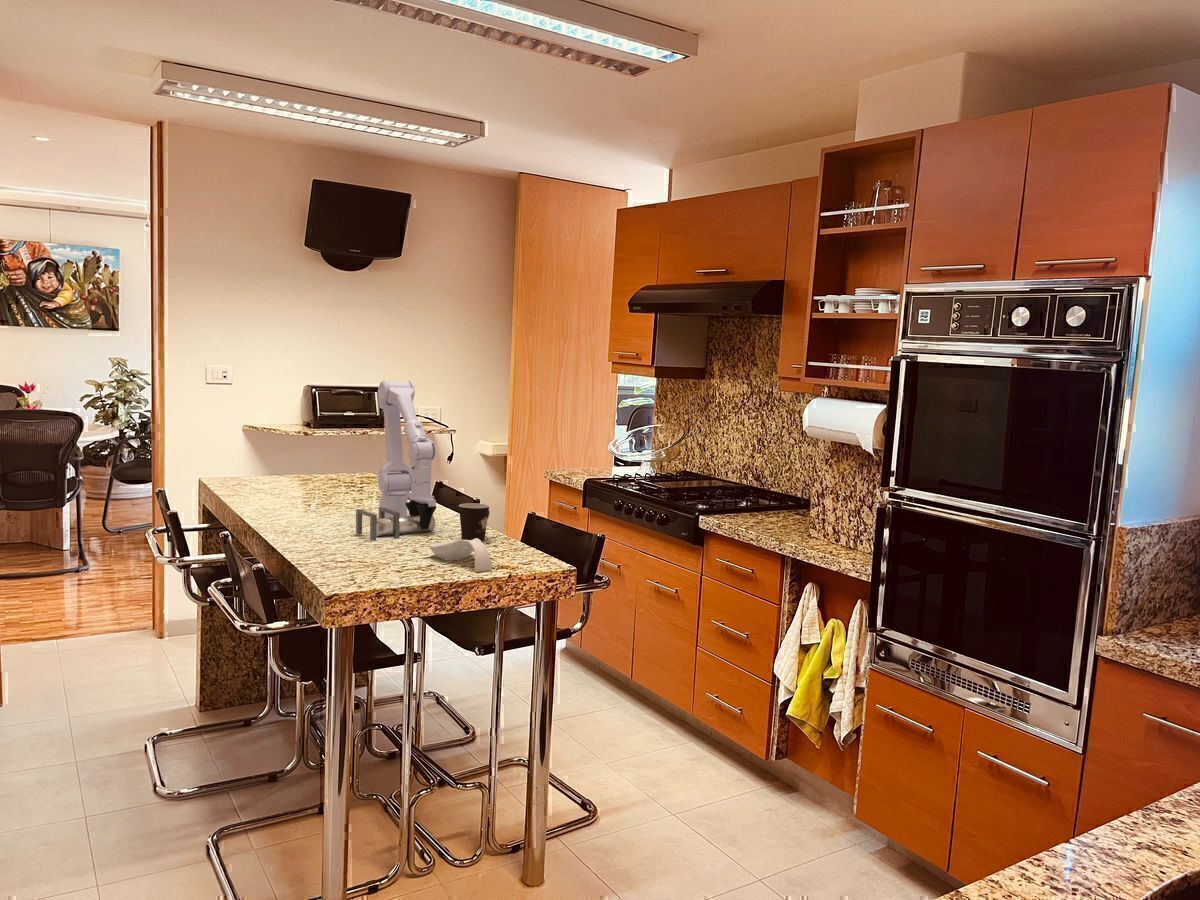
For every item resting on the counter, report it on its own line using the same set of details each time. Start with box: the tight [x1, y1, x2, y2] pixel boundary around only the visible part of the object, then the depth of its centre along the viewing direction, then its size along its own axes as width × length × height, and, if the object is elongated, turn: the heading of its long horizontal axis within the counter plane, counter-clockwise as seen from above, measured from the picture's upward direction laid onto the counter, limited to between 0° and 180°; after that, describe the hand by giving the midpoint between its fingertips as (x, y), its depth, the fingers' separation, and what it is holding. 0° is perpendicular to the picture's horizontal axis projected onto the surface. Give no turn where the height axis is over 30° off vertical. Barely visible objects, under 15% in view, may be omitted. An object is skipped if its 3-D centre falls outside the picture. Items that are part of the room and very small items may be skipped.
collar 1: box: [355, 508, 378, 541], centre depth 255 cm, size 11×1×7 cm, turn 39°
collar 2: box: [378, 506, 400, 539], centre depth 260 cm, size 11×1×7 cm, turn 39°
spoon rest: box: [429, 538, 493, 573], centre depth 229 cm, size 24×12×7 cm, turn 36°
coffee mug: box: [458, 502, 490, 542], centre depth 258 cm, size 12×9×10 cm
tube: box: [376, 514, 436, 537], centre depth 263 cm, size 18×5×5 cm, turn 129°
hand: (420, 527), depth 266 cm, fingers closed on tube, 5 cm apart
